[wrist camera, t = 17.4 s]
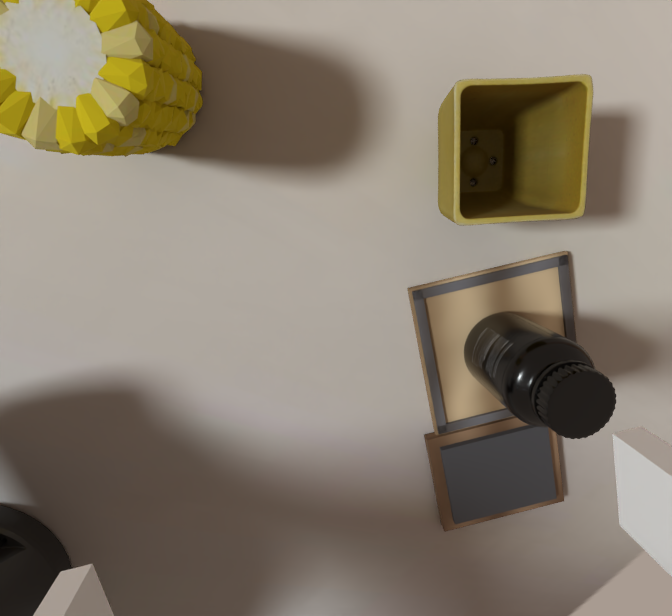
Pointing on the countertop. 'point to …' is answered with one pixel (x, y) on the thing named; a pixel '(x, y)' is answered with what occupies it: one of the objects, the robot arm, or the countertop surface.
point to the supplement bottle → (539, 375)
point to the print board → (465, 312)
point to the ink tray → (470, 433)
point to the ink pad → (498, 472)
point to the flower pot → (514, 149)
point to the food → (95, 77)
